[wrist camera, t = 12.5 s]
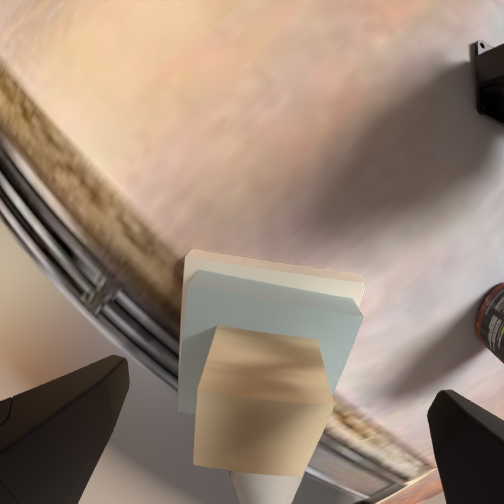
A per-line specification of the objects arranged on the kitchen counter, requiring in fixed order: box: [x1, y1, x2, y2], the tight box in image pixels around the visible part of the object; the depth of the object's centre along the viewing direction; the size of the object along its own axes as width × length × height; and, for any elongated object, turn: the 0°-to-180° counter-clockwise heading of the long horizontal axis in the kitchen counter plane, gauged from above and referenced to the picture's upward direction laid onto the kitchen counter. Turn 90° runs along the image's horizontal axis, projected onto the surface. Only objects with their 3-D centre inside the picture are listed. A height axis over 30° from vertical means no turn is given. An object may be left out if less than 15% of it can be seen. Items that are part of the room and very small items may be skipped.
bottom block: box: [178, 249, 366, 385], centre depth 21 cm, size 11×11×2 cm
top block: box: [177, 269, 363, 416], centre depth 19 cm, size 10×10×2 cm
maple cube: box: [193, 325, 334, 477], centre depth 15 cm, size 6×6×6 cm
